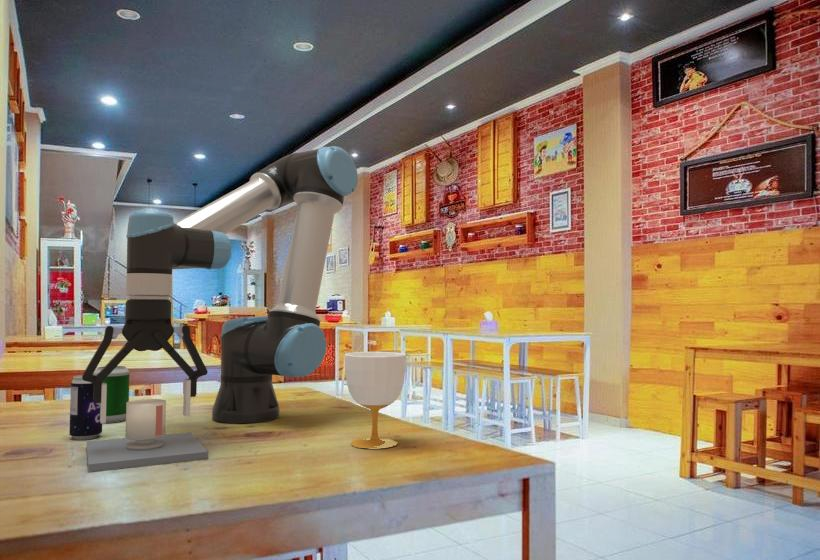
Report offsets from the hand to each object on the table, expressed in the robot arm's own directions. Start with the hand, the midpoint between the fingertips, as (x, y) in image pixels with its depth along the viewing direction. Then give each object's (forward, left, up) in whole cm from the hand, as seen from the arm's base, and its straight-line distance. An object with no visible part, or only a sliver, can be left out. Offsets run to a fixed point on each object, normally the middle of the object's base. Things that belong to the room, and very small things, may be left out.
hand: (146, 418), depth 107 cm
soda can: (+4, -36, -6) cm, 37 cm away
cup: (-39, +12, -6) cm, 41 cm away
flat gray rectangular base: (0, 0, -6) cm, 6 cm away
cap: (0, 0, -3) cm, 3 cm away
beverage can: (+9, -19, -6) cm, 22 cm away
